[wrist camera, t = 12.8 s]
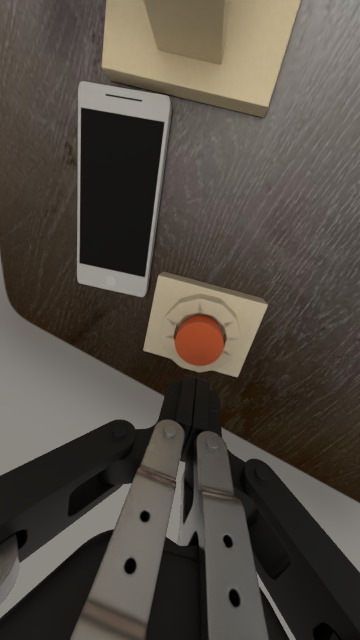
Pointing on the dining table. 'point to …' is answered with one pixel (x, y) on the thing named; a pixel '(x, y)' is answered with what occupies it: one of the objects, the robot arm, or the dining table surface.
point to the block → (209, 300)
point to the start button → (199, 340)
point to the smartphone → (119, 184)
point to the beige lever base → (200, 48)
